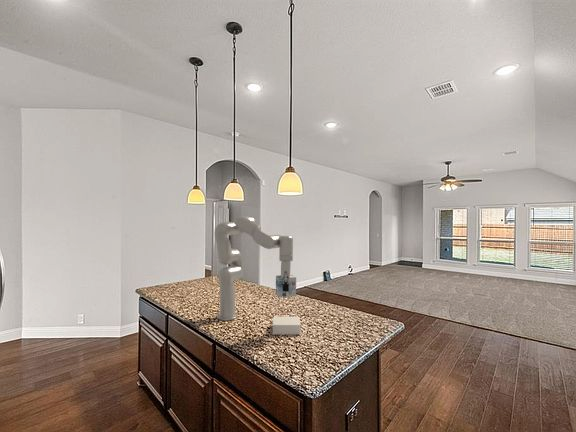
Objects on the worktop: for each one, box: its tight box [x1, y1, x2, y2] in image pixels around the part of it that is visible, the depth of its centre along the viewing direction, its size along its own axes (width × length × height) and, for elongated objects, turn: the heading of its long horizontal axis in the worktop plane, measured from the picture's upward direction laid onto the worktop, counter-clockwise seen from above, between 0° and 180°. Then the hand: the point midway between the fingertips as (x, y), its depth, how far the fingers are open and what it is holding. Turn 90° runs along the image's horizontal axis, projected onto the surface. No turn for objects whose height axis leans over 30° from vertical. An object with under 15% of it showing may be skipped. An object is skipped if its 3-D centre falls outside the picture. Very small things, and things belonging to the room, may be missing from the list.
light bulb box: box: [275, 274, 297, 298], centre depth 157 cm, size 11×7×11 cm, turn 105°
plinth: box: [272, 316, 301, 335], centre depth 157 cm, size 13×15×5 cm
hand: (285, 289), depth 157 cm, fingers closed on light bulb box, 7 cm apart
